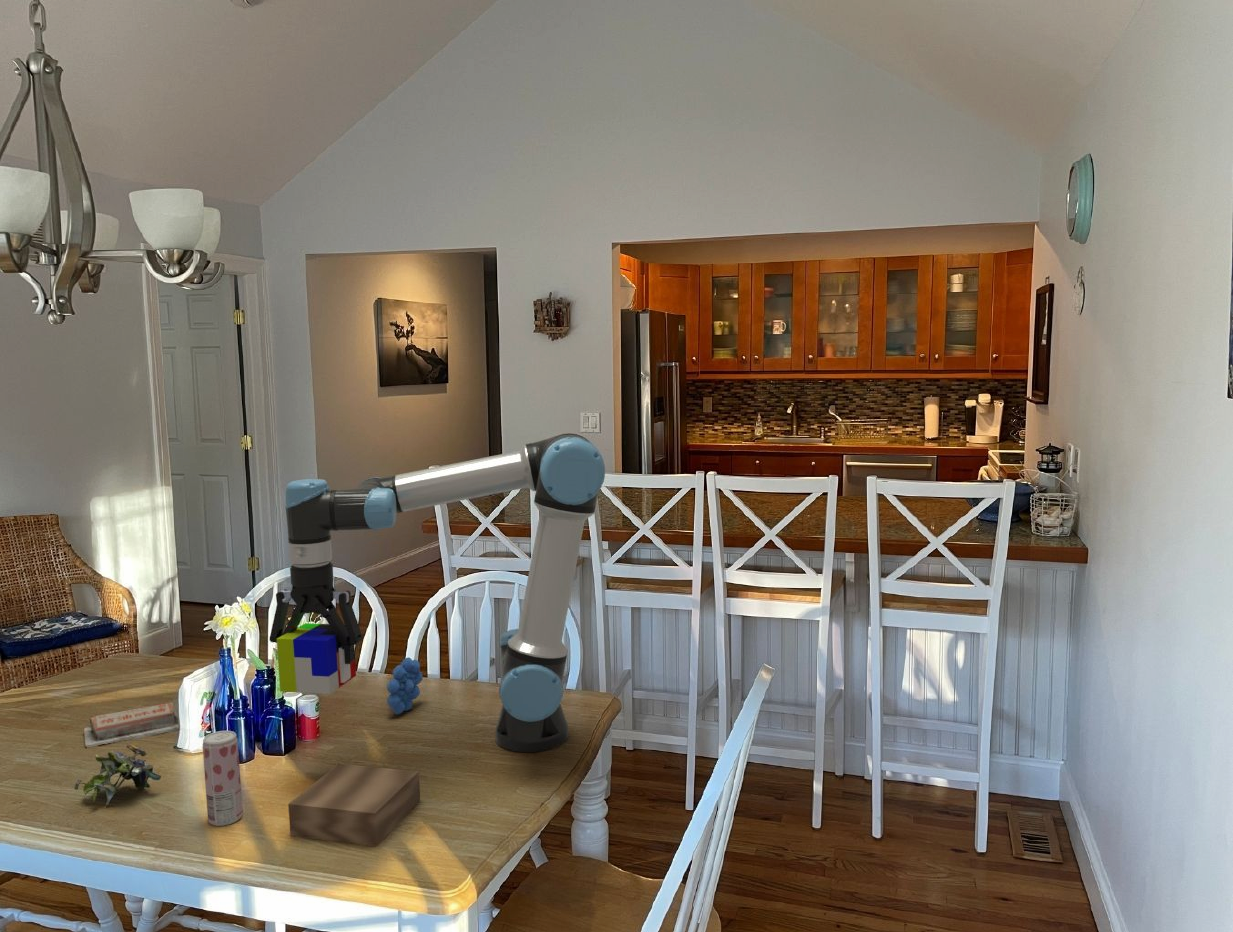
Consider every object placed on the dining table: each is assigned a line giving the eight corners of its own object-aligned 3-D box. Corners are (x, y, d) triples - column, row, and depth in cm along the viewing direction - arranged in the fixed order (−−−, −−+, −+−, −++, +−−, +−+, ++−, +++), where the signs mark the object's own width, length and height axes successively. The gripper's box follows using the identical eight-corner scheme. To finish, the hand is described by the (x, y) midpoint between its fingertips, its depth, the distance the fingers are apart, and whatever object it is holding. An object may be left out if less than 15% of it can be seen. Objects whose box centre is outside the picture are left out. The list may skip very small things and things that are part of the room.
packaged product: (173, 696, 214) (178, 710, 206) (175, 717, 215) (180, 732, 206) (82, 713, 205) (83, 728, 197) (84, 735, 206) (85, 751, 197)
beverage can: (248, 810, 169) (242, 729, 167) (236, 826, 163) (230, 742, 162) (215, 811, 169) (209, 730, 167) (202, 827, 163) (196, 743, 161)
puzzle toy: (329, 694, 173) (326, 640, 172) (280, 691, 175) (276, 638, 174) (356, 675, 183) (353, 625, 181) (308, 673, 185) (305, 623, 183)
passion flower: (141, 816, 179) (176, 765, 178) (99, 834, 168) (136, 780, 167) (100, 778, 181) (134, 728, 180) (56, 794, 170) (92, 740, 170)
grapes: (406, 699, 222) (404, 649, 220) (430, 703, 219) (428, 652, 218) (374, 717, 211) (371, 664, 210) (398, 721, 209) (396, 668, 207)
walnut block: (420, 803, 171) (418, 771, 170) (376, 848, 156) (374, 813, 155) (340, 794, 175) (338, 763, 174) (290, 837, 160) (288, 803, 159)
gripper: (243, 566, 174) (252, 683, 177) (360, 568, 170) (367, 688, 173) (265, 557, 182) (273, 670, 184) (377, 559, 178) (383, 674, 180)
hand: (318, 679), depth 179 cm, fingers closed on puzzle toy, 10 cm apart
